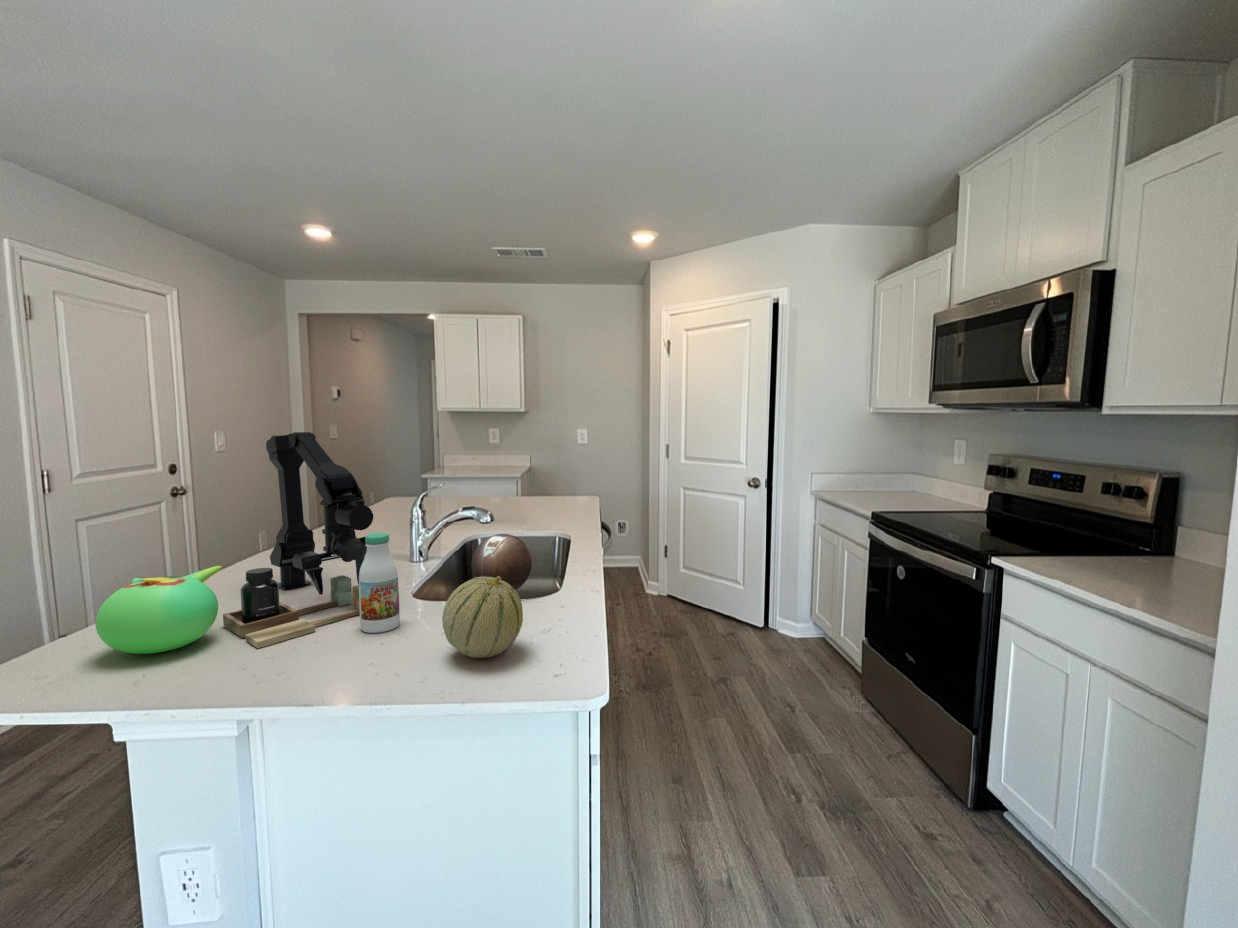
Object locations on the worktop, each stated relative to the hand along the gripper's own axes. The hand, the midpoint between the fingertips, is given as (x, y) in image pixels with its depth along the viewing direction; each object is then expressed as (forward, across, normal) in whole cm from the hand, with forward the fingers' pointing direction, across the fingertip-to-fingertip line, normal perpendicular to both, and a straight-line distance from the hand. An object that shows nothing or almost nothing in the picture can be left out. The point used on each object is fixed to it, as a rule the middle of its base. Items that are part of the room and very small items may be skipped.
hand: (340, 589), depth 130 cm
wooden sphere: (+4, +29, -24) cm, 38 cm away
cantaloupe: (+4, +3, -49) cm, 49 cm away
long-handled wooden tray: (+3, -10, -10) cm, 15 cm away
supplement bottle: (+4, -17, 0) cm, 17 cm away
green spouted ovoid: (+4, -33, +2) cm, 33 cm away
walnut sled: (+3, -10, 0) cm, 11 cm away
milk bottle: (+4, -2, -21) cm, 21 cm away
